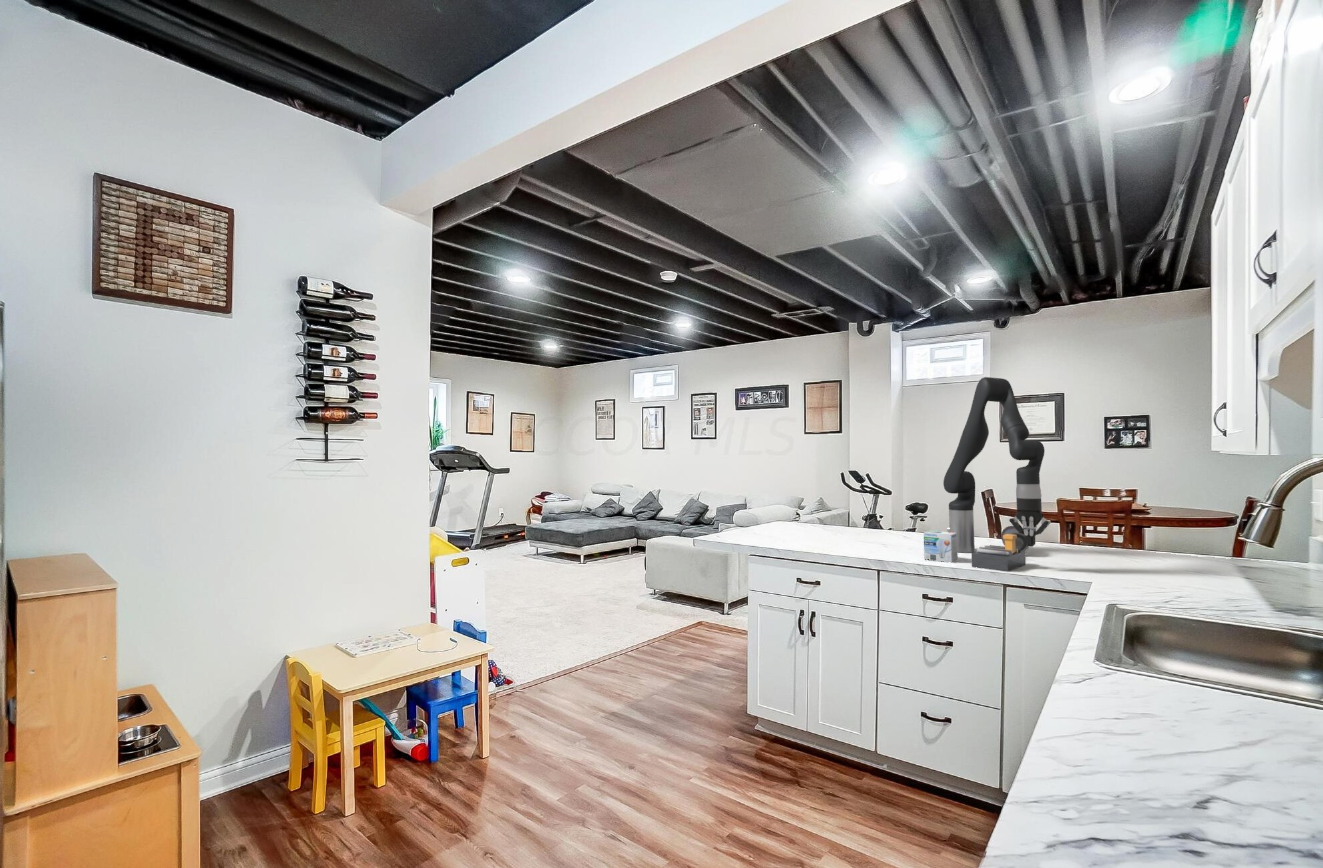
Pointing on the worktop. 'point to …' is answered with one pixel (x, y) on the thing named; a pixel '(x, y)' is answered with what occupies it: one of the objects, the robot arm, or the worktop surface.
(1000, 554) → the dressed cables
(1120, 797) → the worktop surface
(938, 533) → the light bulb box
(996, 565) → the breaker box
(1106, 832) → the worktop surface
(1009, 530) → the bluetooth speaker
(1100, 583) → the worktop surface
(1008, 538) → the breaker handle
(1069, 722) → the worktop surface
